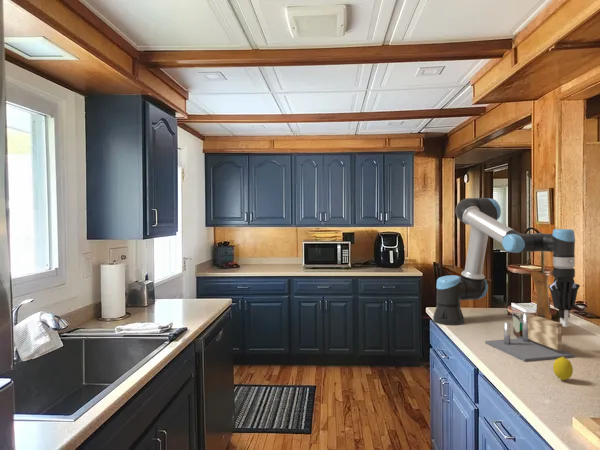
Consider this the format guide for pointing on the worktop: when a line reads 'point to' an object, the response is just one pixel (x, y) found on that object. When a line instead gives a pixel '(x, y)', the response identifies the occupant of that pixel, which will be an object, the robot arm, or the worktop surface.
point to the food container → (518, 324)
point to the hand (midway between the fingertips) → (564, 325)
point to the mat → (529, 350)
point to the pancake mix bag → (542, 295)
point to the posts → (525, 330)
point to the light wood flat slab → (545, 331)
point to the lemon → (563, 368)
